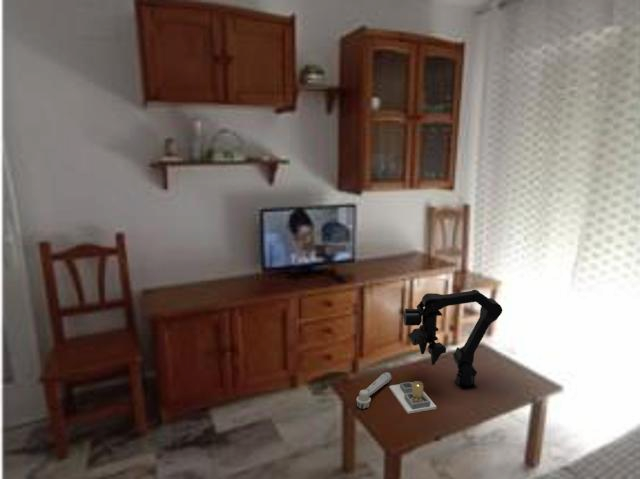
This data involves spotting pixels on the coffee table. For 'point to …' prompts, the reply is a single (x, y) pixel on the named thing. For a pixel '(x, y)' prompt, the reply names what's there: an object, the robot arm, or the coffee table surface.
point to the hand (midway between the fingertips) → (427, 359)
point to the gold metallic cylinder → (417, 392)
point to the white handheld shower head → (372, 390)
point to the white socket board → (405, 398)
